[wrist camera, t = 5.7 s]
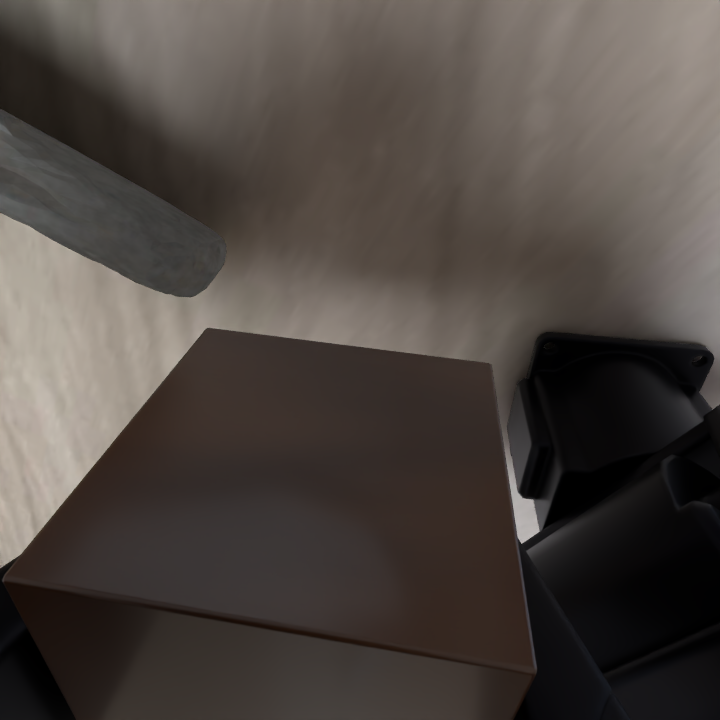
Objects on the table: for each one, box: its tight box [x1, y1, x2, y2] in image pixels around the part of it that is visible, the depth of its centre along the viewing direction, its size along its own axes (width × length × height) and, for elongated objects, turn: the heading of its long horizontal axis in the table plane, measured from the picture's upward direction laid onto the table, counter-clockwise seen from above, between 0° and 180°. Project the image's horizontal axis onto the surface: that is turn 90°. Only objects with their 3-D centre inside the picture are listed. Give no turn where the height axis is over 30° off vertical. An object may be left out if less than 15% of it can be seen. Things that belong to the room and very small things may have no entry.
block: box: [2, 328, 537, 720], centre depth 8 cm, size 5×5×5 cm
